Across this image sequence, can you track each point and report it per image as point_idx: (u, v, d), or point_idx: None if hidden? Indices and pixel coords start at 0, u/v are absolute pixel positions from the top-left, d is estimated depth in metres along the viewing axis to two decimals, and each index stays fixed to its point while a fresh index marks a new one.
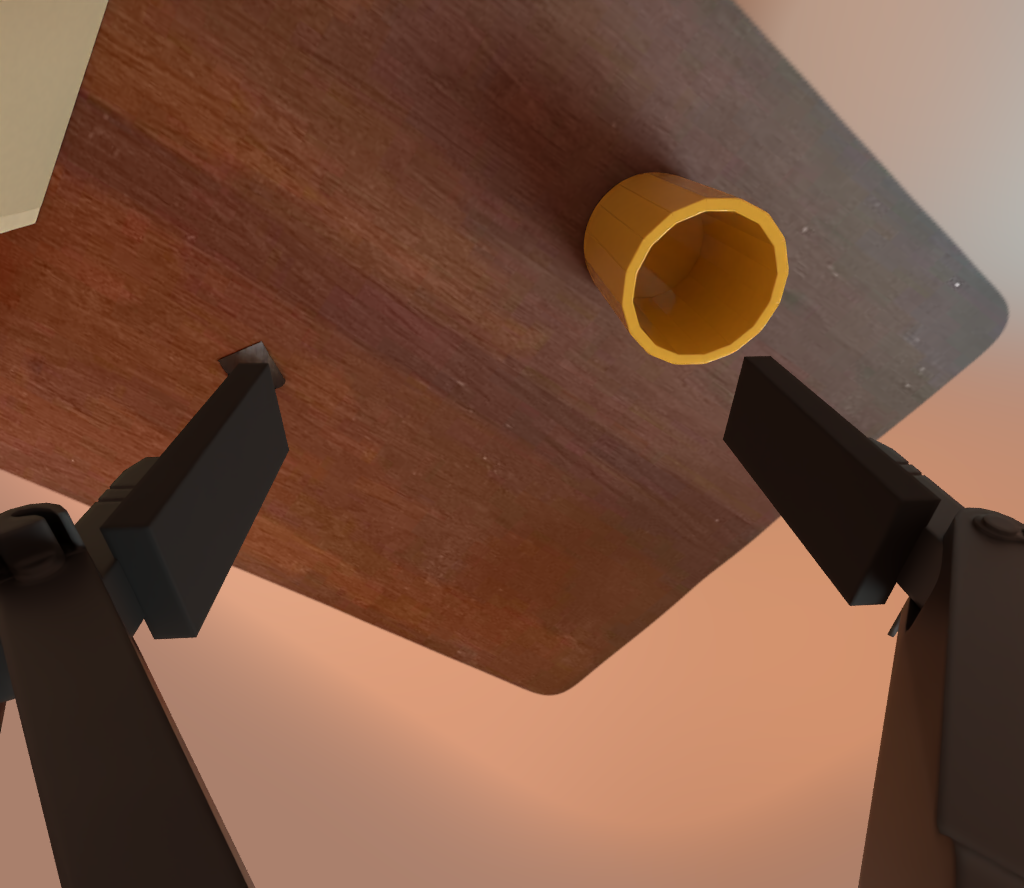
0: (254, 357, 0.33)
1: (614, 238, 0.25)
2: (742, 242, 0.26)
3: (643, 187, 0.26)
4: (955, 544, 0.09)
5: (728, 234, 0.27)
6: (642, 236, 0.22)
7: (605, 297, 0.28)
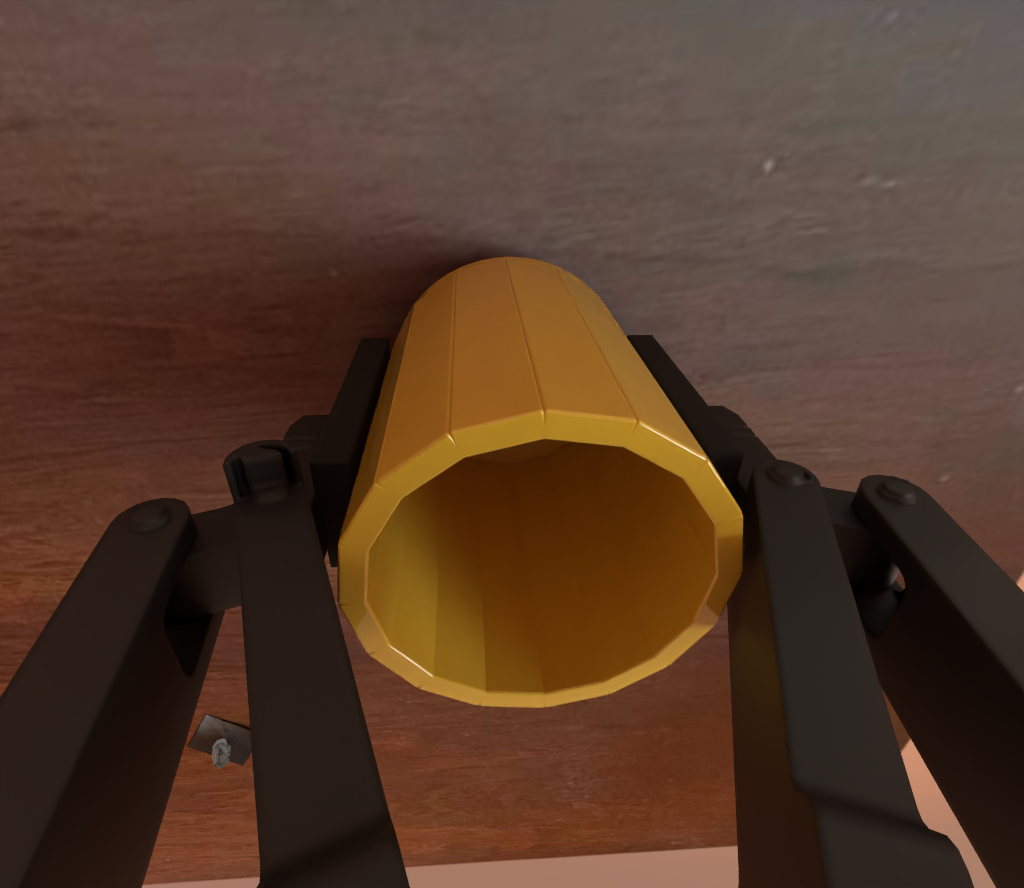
0: (213, 729, 0.27)
1: None
2: None
3: (390, 370, 0.13)
4: (757, 498, 0.10)
5: None
6: None
7: None
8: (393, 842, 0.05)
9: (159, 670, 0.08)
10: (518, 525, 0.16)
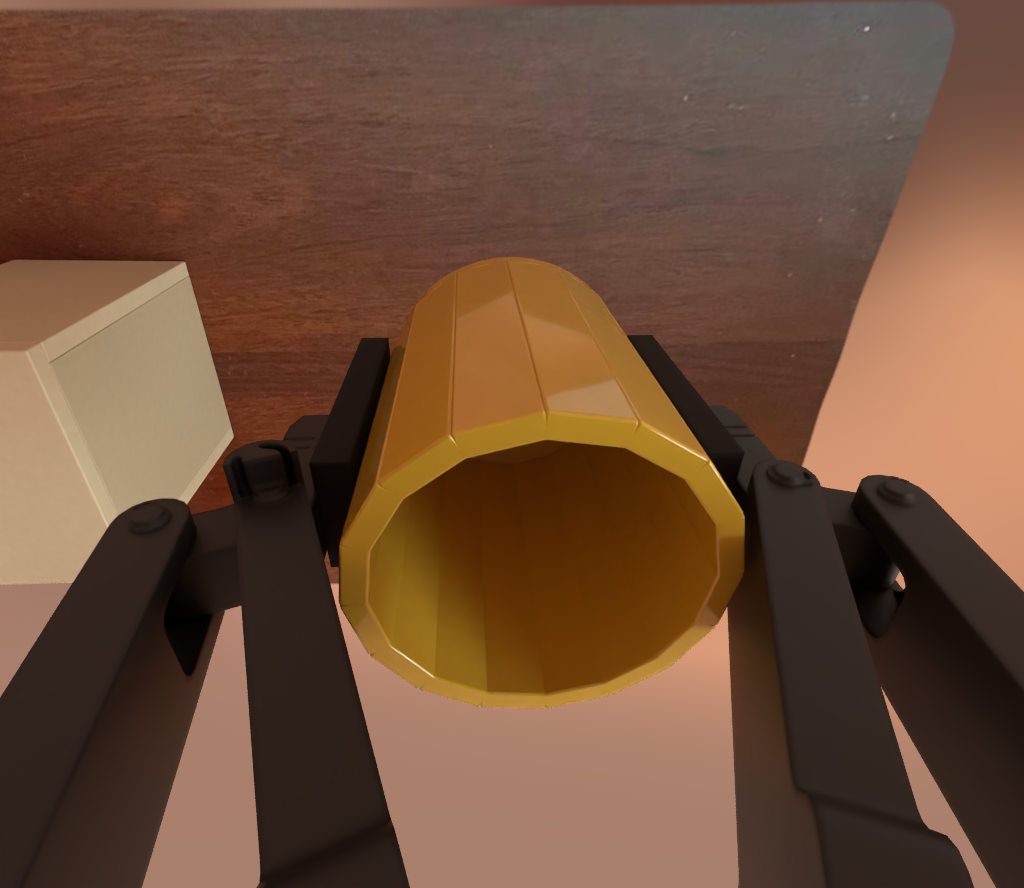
0: None
1: None
2: None
3: (391, 370, 0.13)
4: (757, 498, 0.10)
5: None
6: None
7: None
8: (393, 842, 0.05)
9: (159, 670, 0.08)
10: (519, 525, 0.16)
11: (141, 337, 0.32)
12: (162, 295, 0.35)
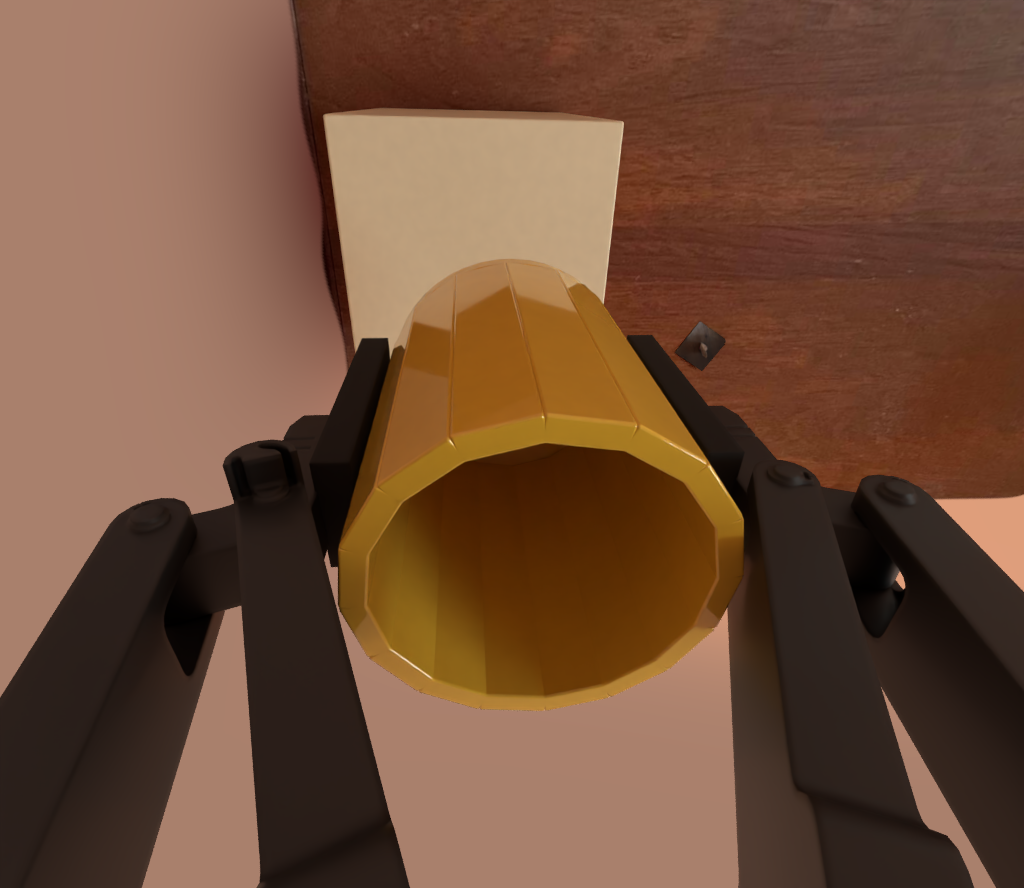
0: (698, 335, 0.43)
1: None
2: None
3: (390, 372, 0.13)
4: (757, 498, 0.10)
5: None
6: None
7: None
8: (393, 842, 0.05)
9: (159, 670, 0.08)
10: (518, 527, 0.16)
11: None
12: None
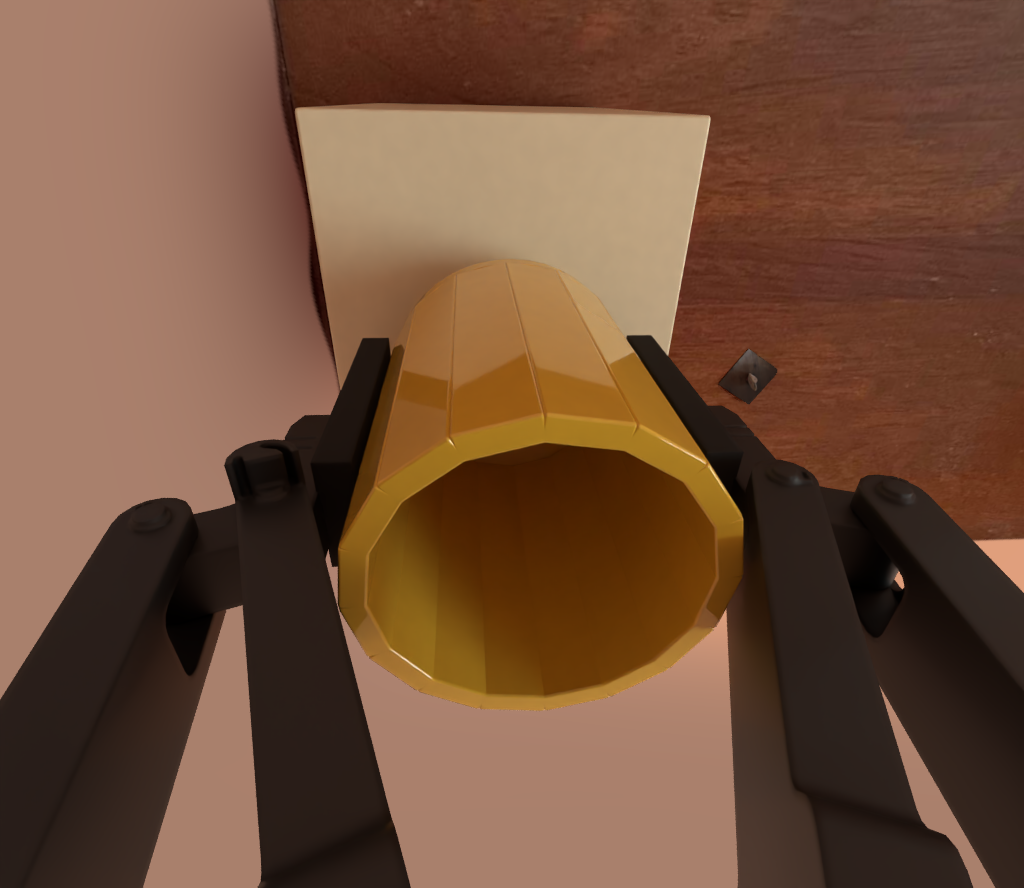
0: (746, 365, 0.37)
1: None
2: None
3: (390, 372, 0.13)
4: (756, 497, 0.10)
5: None
6: None
7: None
8: (394, 842, 0.05)
9: (160, 670, 0.08)
10: (518, 527, 0.16)
11: None
12: None
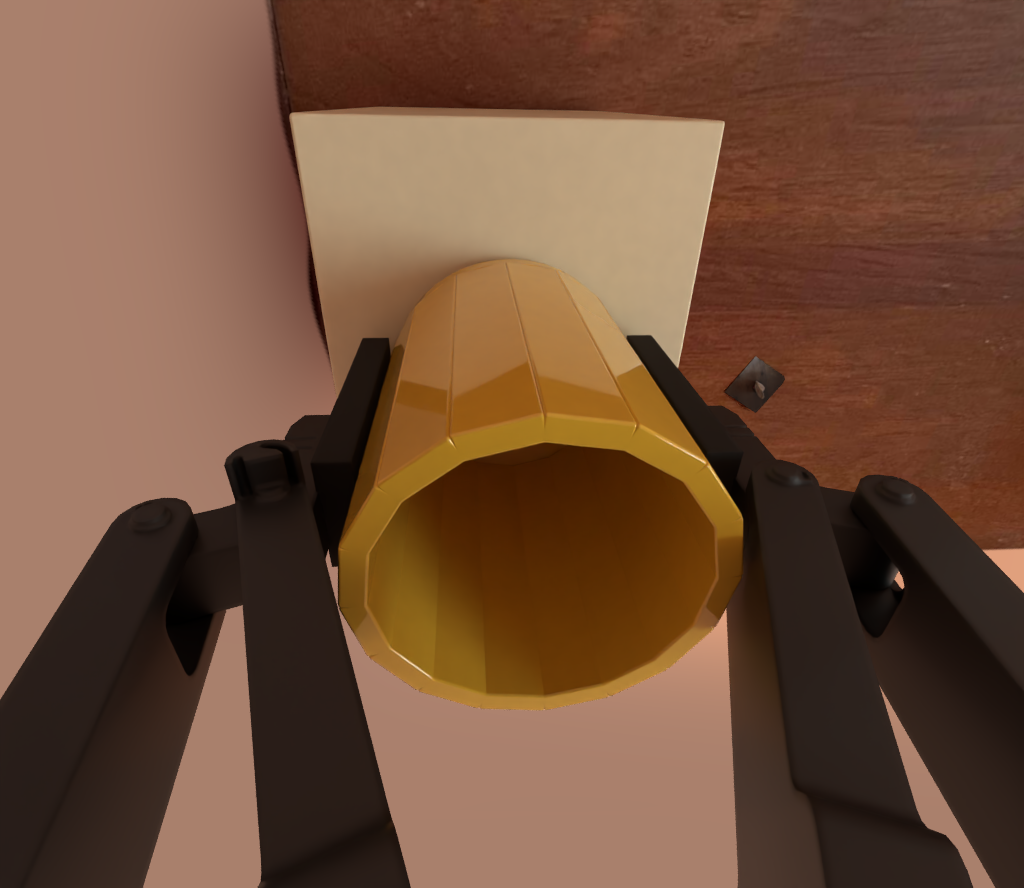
0: (753, 372, 0.36)
1: None
2: None
3: (390, 372, 0.13)
4: (756, 497, 0.10)
5: None
6: None
7: None
8: (394, 842, 0.05)
9: (160, 670, 0.08)
10: (518, 527, 0.16)
11: None
12: None
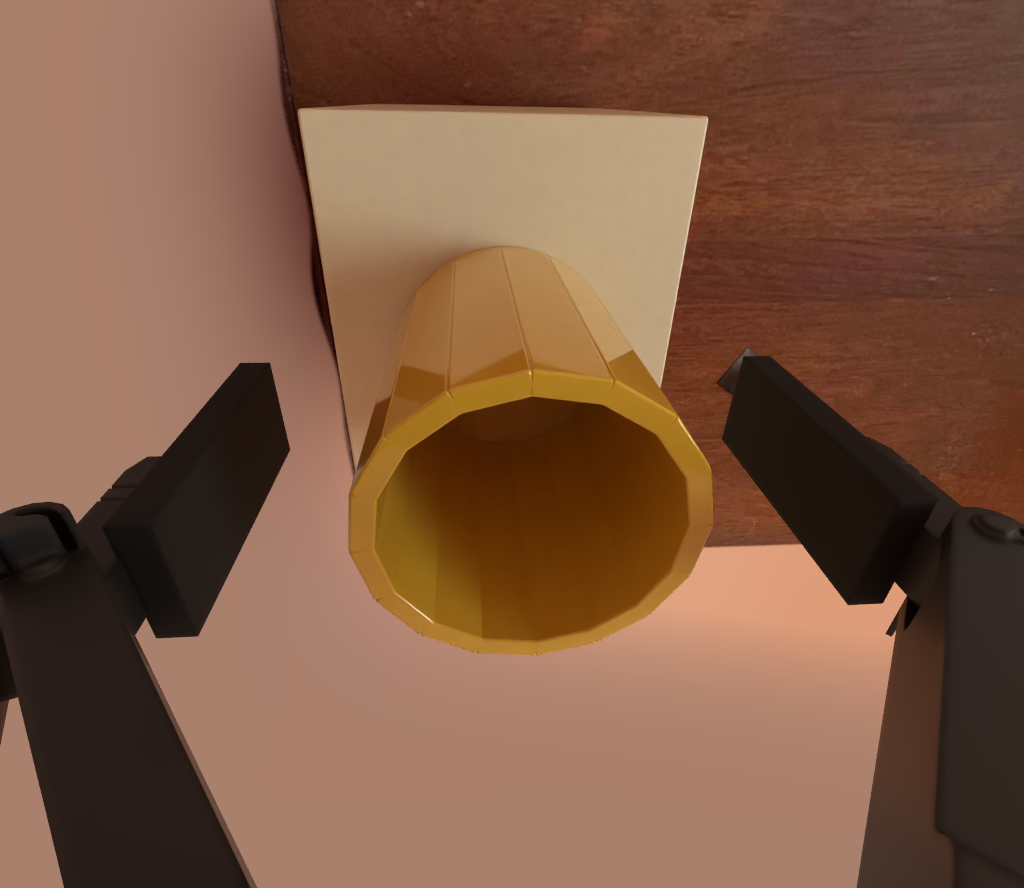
0: None
1: None
2: None
3: (394, 349, 0.14)
4: (952, 543, 0.09)
5: None
6: None
7: None
8: None
9: None
10: (513, 498, 0.17)
11: None
12: None
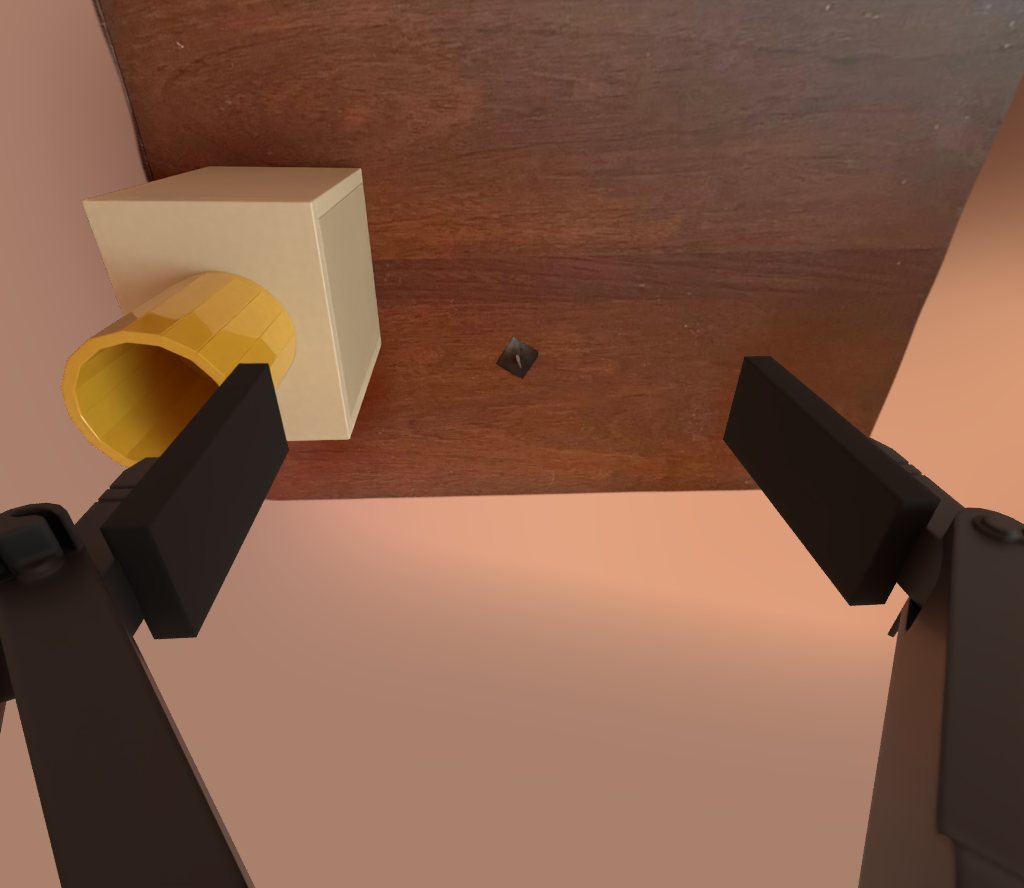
0: (514, 349, 0.50)
1: None
2: None
3: None
4: (955, 544, 0.09)
5: None
6: None
7: None
8: None
9: None
10: None
11: (347, 224, 0.36)
12: (354, 192, 0.38)
